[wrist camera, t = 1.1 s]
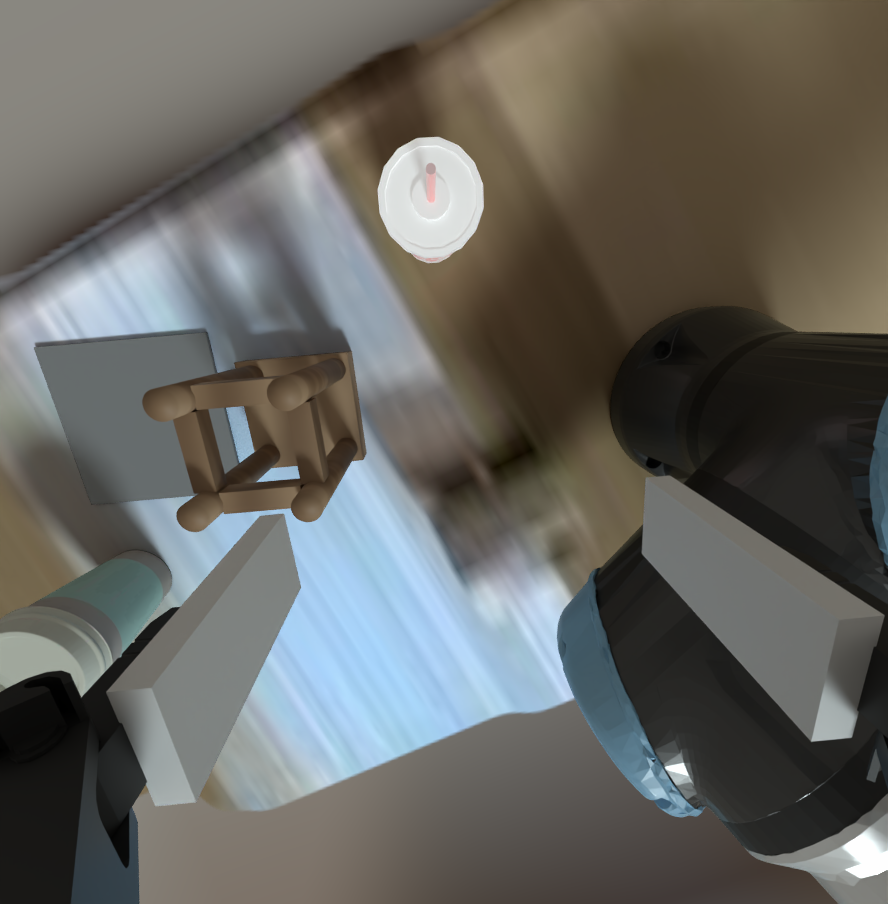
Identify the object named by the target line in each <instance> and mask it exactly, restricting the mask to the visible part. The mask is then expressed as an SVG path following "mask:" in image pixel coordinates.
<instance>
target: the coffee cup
mask: <svg viewBox="0 0 888 904" xmlns="http://www.w3.org/2000/svg"><path fill="white" fill-rule="evenodd" d="M171 585H172V576H171V573H170V571H169V569H168V567H167V566H166V564H165V563H164V562H163V561H162V560H161V559H159V558H158V557H156V556H155V555H153V554H151V553H148V552H145V551H139V550H132V551H126V552H123V553H121V554H119V555H118V556H116V557H114V558H112V559H111V560H109V561H107V562H105V563H103V564H102V565H100V566H98V567H96V568H95V569H93V570H91V571H89V572H88V573H86V574H84V575H82V576H81V577H79V578H77V579H75V580H73V581H72V582H70V583H68V584H66V585H65V586H63V587H61V588H59V589H58V590H56V591H54V592H52V593H51V594H49V595H47V596H45V597H44V598H42V599H40V600H38V601H37V602H35V603H33V604H31V605H30V606H28V607H24V608H20V609H17V610H14V611H12V612H10V613H8V614H7V615H5V616H4V617H3V618H2V619H0V692H1V691H3V690H4V689H6V688H8V687H10V686H12V685H14V684H16V683H18V682H20V681H22V680H24V679H26V678H29V677H32V676H35V675H38V674H42V673H45V672H51V671H60V670H61V671H65V672H68V673H70V674H71V676H72V678H73V680H74V683H75V685H76V687H77V689H78V691H79V693H80V696H81V697H82V696H83V695H84V694H85V693H86V692H87V691H88V690H89V689H90V687H91V686H92V685H93V684H94V683H95V682H96V681H97V680H98V679H99V678H100V677H101V676H102V675H103V673H104V672H105V671H106V670H107V669H108V668H109V667H110V666H111V665H112V664H113V663H114V662H115V661H116V659H117V658H120V657H121V656H122V653H123V652H124V651H125V650H126V649H127V648H128V646H129V645H130V644H131V642H132V641H133V639H134V638H135V637H136V635H137V634H138V633H139V631H140V630H141V629H142V627H143V626H144V625H145V623H146V622H147V621H148V619H149V618H150V617H151V615H152V614H153V612H154V611H155V610H156V608H157V607H158V606H159V604H160V603H161V602H162V600H163V599H164V597H165V596H166V595H167V593H168V592H169V590H170V588H171Z"/></svg>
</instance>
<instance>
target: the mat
mask: <svg viewBox="0 0 888 904" xmlns="http://www.w3.org/2000/svg"><path fill="white" fill-rule="evenodd" d="M34 350H35V352H36V355H37V358H38V361H39V363H40V366H41V369H42V371H43V374H44V377H45V380H46V382H47V385H48V388H49V391H50V393H51V396H52V399H53V401H54V404H55V407H56V410H57V412H58V415H59V418H60V420H61V423H62V426H63V429H64V431H65V434H66V437H67V439H68V442H69V445H70V448H71V450H72V453H73V456H74V458H75V461H76V464H77V467H78V469H79V472H80V475H81V478H82V480H83V483H84V486H85V488H86V491H87V494H88V497H89V499H90V502H91V505H93V504H105V503H116V502H128V501H139V500H150V499H162V498H173V497H184V496H196V495H197V494H194V493H193V489H192V486H191V482H190V479H189V475H188V472H187V468H186V465H185V461H184V458H183V454H182V451H181V447H180V443H179V440H178V436H177V433H176V429H175V426H174V422H173V420H170V421H167V422H159V421H156V420H154V419H152V418H151V417H149V416H148V415H147V414H146V412H145V410H144V408H143V405H142V399H143V396H144V394H145V393H146V392H147V391H149V390H151V389H154V388H158V387H162V386H166V385H171V384H175V383H179V382H183V381H187V380H191V379H195V378H199V377H203V376H208V375H212V374H216V373H217V370H216V366H215V362H214V358H213V354H212V350H211V346H210V342H209V338H208V333H207V332H204V333H193V334H182V335H170V336H159V337H147V338H136V339H125V340H113V341H102V342H90V343H79V344H68V345H56V346H45V347H34ZM208 410H209V414H210V418H211V422H212V426H213V430H214V433H215V437H216V441H217V445H218V449H219V453H220V457H221V461H222V465H223V469H224V472H225V474H226V473H227V472H228V471H230V470H231V469H232V468H234V467H235V466H237V465H238V464H239V460H238V456H237V452H236V448H235V444H234V440H233V436H232V432H231V428H230V424H229V419H228V415H227V411H226V408H215V409H208Z"/></svg>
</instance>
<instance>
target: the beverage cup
mask: <svg viewBox="0 0 888 904" xmlns="http://www.w3.org/2000/svg"><path fill="white" fill-rule="evenodd" d="M378 199H379V211H380V215H381V217H382V219H383V222H384V224H385V226H386V228H387V230H388V232H389V234H390V236H391V237H392V238H393V239H394V240H395V241H396V242H397V243H398V244H399V245H400V246H401V247H402V248H403V249H404V250H405V251H407V252H410V253H411V254H412V255H413V256H414V257H415V258H416V259H419V260H421V261H424V262H426V263H435V262H440V261H442V260H444V259H446V258H448V257H449V256H450V255H451V254H452V253H453V252H455V251H457V250H459V249H461V248H462V247H463V245H464V244H465V243H466V242H467V241H468V239H469V238H470V237H471V236H472V235H473V233H474V232H475V231H476V229H477V226H478V223H479V220H480V217H481V214H482V211H483V208H484V206H483V183H482V181H481V178H480V175H479V173H478V170H477V168H476V165H475V163H474V161H473V160H472V159H471V158H470V157H469V156H468V155H467V154H466V153H465V152H464V151H463V150H462V149H461V147H460V146H459V145H456V144H454V143H452V142H449V141H447V140H445V139H442V138H440V137H427V138H416V139H414V140H412V141H411V142H409V143H407V144H405V145H403V146H402V147H400V148H398V149H397V150H396V152H395V153H394V154H393V156H392V157H391V158H390V160H389V161H388V162H387V164H386V165H385V166H384V169H383V172H382V176H381V180H380V183H379V187H378Z"/></svg>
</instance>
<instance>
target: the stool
mask: <svg viewBox="0 0 888 904" xmlns="http://www.w3.org/2000/svg"><path fill="white" fill-rule="evenodd" d="M234 364H235V368H236V369H232V370H228V371H224V372H220V373H216V374H212V375H208V376H203V377H199V378H195V379H191V380H187V381H183V382H179V383H175V384H171V385H166V386H162V387H158V388H154V389H151V390H149V391H147V392H146V393H145V394H144V396H143V399H142V405H143V408H144V410H145V412H146V414H147V415H148V416H149V417H151V418H152V419H154V420H156V421H159V422H167V421H170V420H173V422H174V426H175V429H176V433H177V436H178V440H179V443H180V447H181V451H182V454H183V458H184V461H185V465H186V468H187V472H188V475H189V479H190V482H191V486H192V489H193V493H194V494H197V495H196V496H195V497H193V498H192V499H190V500H189V501H188V502H186V503H185V504H184V505H182V506H181V507H180V508H179V509H178V511H177V520H178V522H179V524H180V525H181V526H182V527H183V528H184V529H186V530H188V531H191V532H199V531H202V530H204V529H205V528H206V527H207V526H208V525H209V524H210V523H212V522H213V521H214V520H215V519H216V518H217V517H218V516H219V515H220V514H221V513H223V512H224V514H230V513H242V512H253V511H264V510H276V509H287V508H291V511H292V513H293V515H294V516H295V517H296V518H297V519H299V520H301V521H304V522H312V521H315V520H317V519H318V518H319V517H320V516H321V514H322V512H323V510H324V509H325V507H326V505H327V504H328V502H329V500H330V498H331V497H332V495H333V493H334V491H335V490H336V488H337V486H338V484H339V483H340V481H341V479H342V477H343V476H344V474H345V472H346V470H347V469H348V467H349V465H350V463H351V462H352V461H357V460H363V459H364V457H365V455H366V446H365V439H364V432H363V425H362V419H361V412H360V405H359V398H358V391H357V384H356V377H355V371H354V364H353V357H352V351H348V352H337V353H325V354H314V355H303V356H291V357H280V358H268V359H257V360H246V361H240V362H236V363H234ZM238 406H244V408H245V412H246V416H247V421H248V425H249V429H250V434H251V438H252V442H253V447H254V451H255V452H254V453H253V454H251V455H250V456H249V457H247V458H246V459H245V460H243V461H242V462H241V463H239V464H238V465H237V466H235V467H234V468H232V469H231V470H230V471H228V472H227V473H226V474H225V472H224V469H223V465H222V461H221V457H220V453H219V449H218V445H217V441H216V437H215V433H214V430H213V426H212V422H211V418H210V414H209V410H208V409H215V408H227V407H238ZM289 466H298V470H299V475H300V479H290V480H278V481H267V482H256V481H258V480H259V479H260V478H261V477H262V476H263V475H264V474H265V473H266V472H267V471H269V470H270V469H271V468H277V467H289ZM255 482H256V483H255Z"/></svg>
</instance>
